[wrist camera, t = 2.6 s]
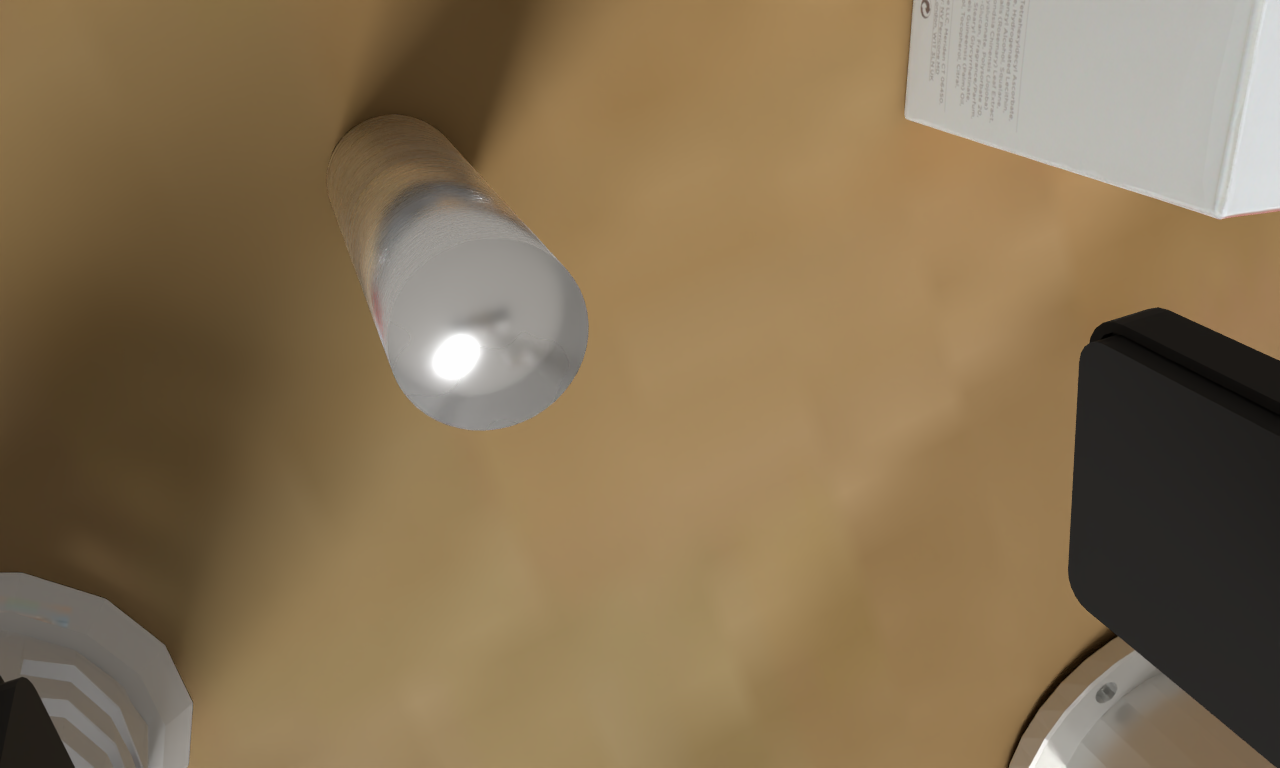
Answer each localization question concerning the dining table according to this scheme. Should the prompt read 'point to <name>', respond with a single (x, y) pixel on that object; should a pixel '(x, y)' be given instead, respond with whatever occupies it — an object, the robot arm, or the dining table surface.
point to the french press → (95, 675)
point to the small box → (1112, 91)
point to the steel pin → (453, 278)
